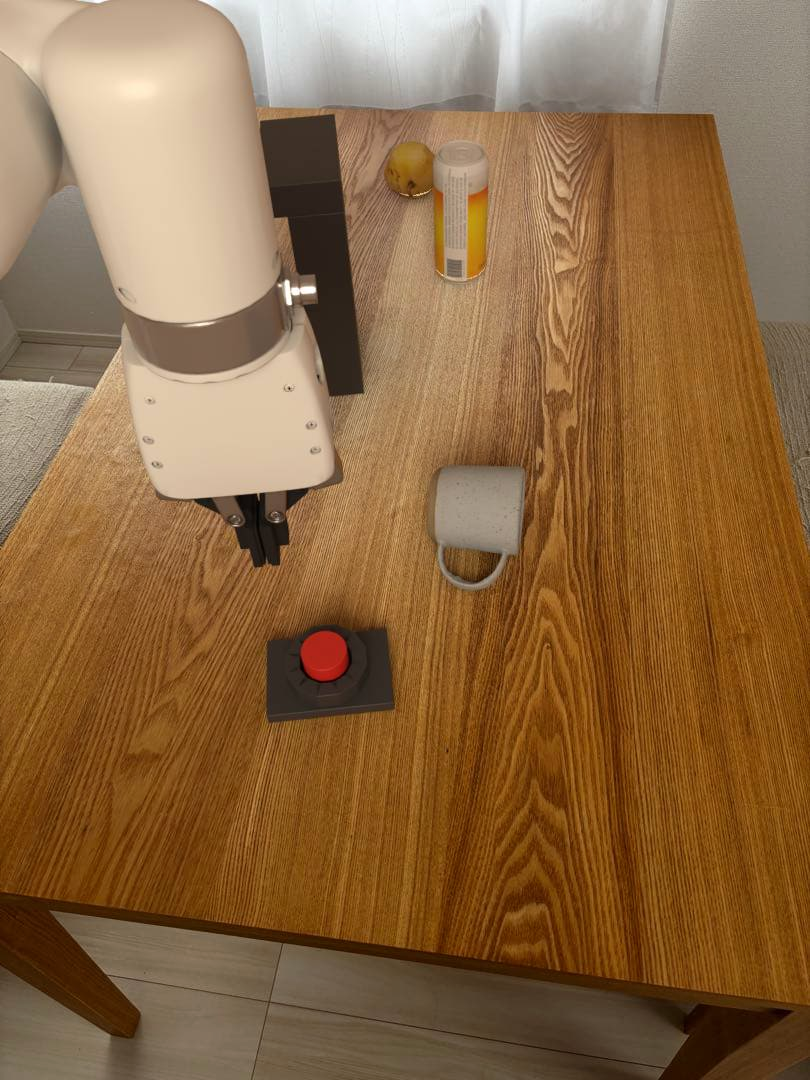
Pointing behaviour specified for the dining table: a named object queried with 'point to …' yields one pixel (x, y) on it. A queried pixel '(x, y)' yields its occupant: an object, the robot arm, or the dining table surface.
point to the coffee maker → (317, 235)
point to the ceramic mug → (476, 513)
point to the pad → (347, 694)
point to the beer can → (460, 210)
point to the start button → (324, 656)
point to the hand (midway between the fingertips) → (267, 548)
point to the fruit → (410, 169)
